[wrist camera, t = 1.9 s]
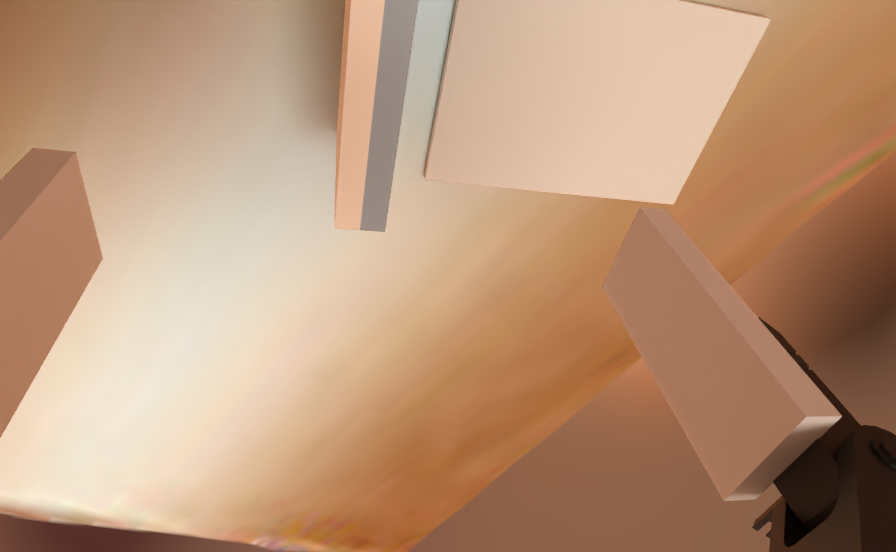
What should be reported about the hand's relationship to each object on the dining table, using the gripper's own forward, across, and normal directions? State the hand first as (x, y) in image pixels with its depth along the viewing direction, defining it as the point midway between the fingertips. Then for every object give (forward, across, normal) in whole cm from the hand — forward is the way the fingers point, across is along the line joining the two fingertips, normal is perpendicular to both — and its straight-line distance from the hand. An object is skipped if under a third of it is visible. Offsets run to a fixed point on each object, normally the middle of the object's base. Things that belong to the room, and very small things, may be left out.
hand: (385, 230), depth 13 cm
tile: (+16, 0, 0) cm, 16 cm away
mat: (+16, +12, -1) cm, 20 cm away
